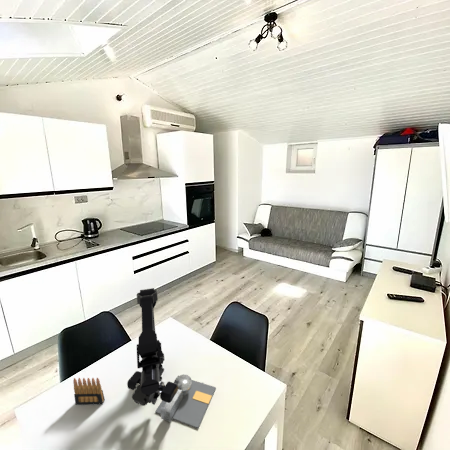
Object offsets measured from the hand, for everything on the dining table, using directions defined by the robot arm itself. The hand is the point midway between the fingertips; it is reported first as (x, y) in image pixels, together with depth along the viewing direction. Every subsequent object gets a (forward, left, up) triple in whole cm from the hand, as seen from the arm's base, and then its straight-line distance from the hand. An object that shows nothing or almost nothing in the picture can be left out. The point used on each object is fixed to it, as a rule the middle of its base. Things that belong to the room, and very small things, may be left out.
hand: (154, 403), depth 93 cm
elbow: (+7, +6, -2) cm, 9 cm away
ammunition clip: (-26, -6, -4) cm, 27 cm away
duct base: (+10, +8, -3) cm, 13 cm away
